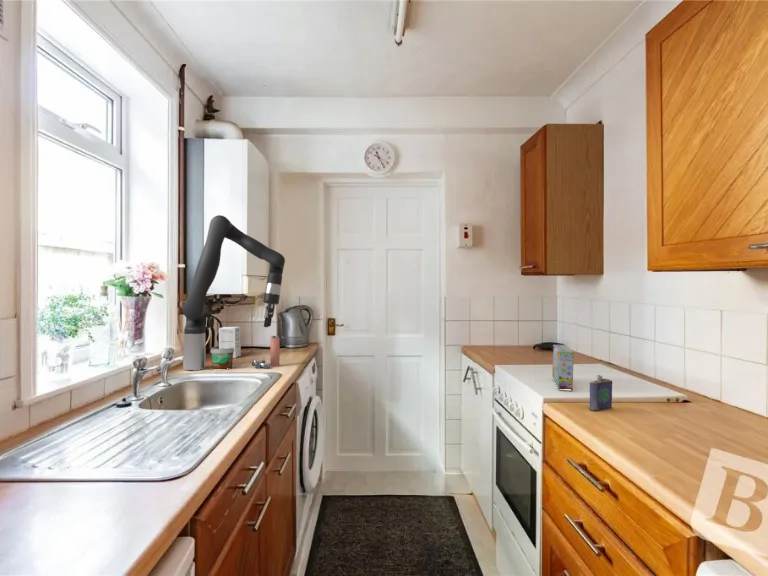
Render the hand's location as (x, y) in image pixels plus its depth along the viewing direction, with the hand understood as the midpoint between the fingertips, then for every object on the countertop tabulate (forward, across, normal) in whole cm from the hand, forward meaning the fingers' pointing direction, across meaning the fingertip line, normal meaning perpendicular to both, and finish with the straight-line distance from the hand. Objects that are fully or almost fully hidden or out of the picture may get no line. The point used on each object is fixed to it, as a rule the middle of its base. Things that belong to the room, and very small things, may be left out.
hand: (266, 326), depth 199 cm
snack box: (+13, +78, +108) cm, 134 cm away
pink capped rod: (+18, -8, +8) cm, 21 cm away
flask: (+19, +107, +94) cm, 144 cm away
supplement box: (+17, -46, -12) cm, 50 cm away
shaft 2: (+20, -5, +2) cm, 20 cm away
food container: (+22, -11, -18) cm, 30 cm away
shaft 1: (+19, -13, +1) cm, 23 cm away
